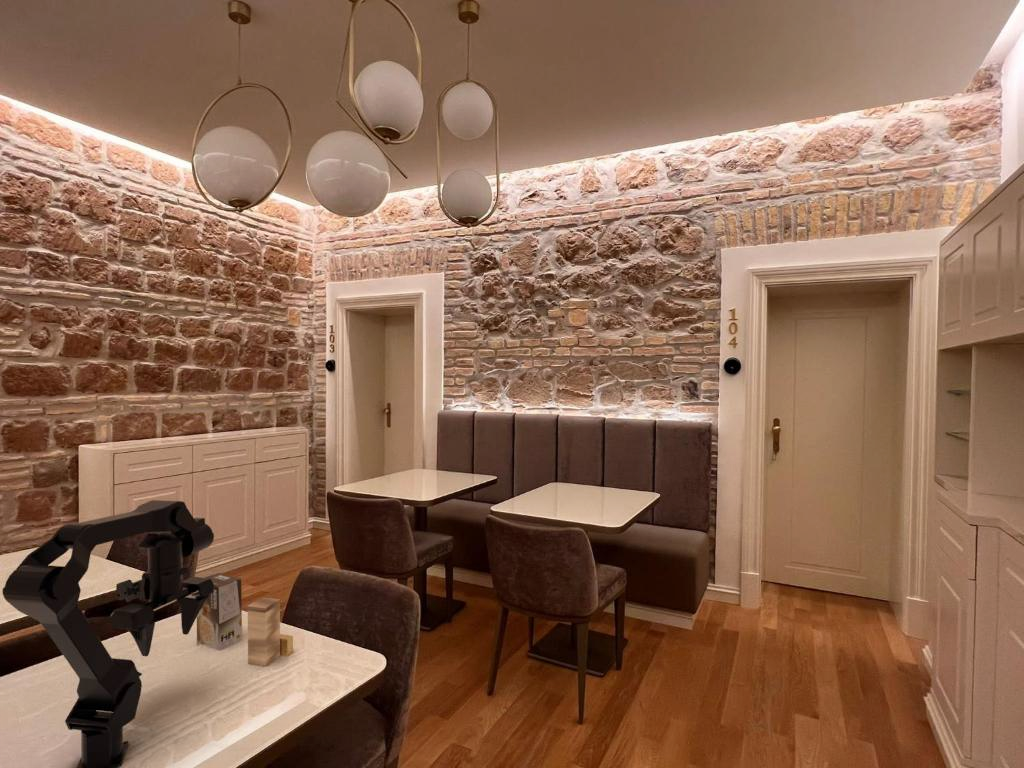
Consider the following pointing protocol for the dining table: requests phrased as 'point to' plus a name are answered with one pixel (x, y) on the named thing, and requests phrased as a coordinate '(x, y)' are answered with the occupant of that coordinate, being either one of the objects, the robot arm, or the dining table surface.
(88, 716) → the robot arm
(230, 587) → the coffee box
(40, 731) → the dining table surface
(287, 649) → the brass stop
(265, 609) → the block
